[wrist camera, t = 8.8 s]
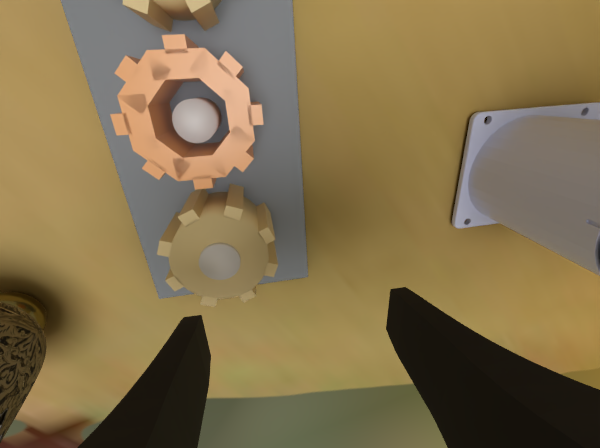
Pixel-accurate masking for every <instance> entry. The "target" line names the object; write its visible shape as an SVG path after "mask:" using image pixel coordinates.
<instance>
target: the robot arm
mask: <svg viewBox="0 0 600 448" xmlns="http://www.w3.org/2000/svg"><path fill="white" fill-rule="evenodd" d="M581 112H582V113H581ZM486 117H487V121H486V122H485V123H484V120H485V118H486ZM466 219H467V221H466V222H464V221H465V220H466ZM496 223H500V224H502V225H504V226H506V227H508V228H510V229H512V230H514V231H515V232H517V233H519V234H521V235H523V236H525V237H527V238H529V239H531V240H533V241H534V242H536V243H538V244H540V245H542V246H544V247H546V248H548V249H550V250H552V251H553V252H555V253H557V254H559V255H561V256H563V257H565V258H567V259H569V260H571V261H572V262H574V263H576V264H578V265H580V266H582V267H584V268H586V269H588V270H590V271H591V272H593V273H595V274H597V275H599V276H600V102H593V103H580V104H568V105H556V106H544V107H532V108H520V109H508V110H496V111H483V112H476V113H475V114H473V115H472V117H471V118H470V121H469V127H468V133H467V138H466V144H465V150H464V155H463V161H462V167H461V172H460V178H459V184H458V189H457V195H456V201H455V206H454V212H453V218H452V225H453V226H454V227H456V228H466V227H474V226H481V225H489V224H496ZM386 330H387V332H388V335H389V337H390V339H391V342H392V344H393V346H394V349H395V351H396V353H397V355H398V357H399V359H400V360H401V362H402V364H403V366H404V367H405V369H406V371H407V373H408V374H409V376H410V378H411V379H412V381H413V383H414V385H415V386H416V388H417V390H418V391H419V393H420V395H421V397H422V398H423V400H424V402H425V404H426V405H427V407H428V409H429V410H430V412H431V414H432V416H433V418H434V420H435V422H436V423H437V426H438V428H439V430H440V432H441V434H442V436H443V438H444V441H445V442H446V445H447V447H448V448H600V390H599V389H596V388H593V387H591V386H588V385H585V384H583V383H580V382H578V381H575V380H573V379H570V378H568V377H565V376H563V375H561V374H558V373H556V372H554V371H552V370H549V369H547V368H545V367H542V366H540V365H538V364H536V363H534V362H531V361H529V360H527V359H525V358H523V357H521V356H519V355H517V354H515V353H513V352H511V351H509V350H507V349H505V348H503V347H501V346H499V345H497V344H496V343H494V342H492V341H490V340H488V339H487V338H485V337H483V336H481V335H480V334H478V333H476V332H474V331H473V330H471V329H469V328H468V327H466V326H464V325H463V324H461V323H460V322H458V321H456V320H455V319H453V318H452V317H450V316H449V315H447V314H445V313H444V312H442V311H441V310H439V309H438V308H436V307H435V306H433V305H432V304H430V303H429V302H427V301H426V300H424V299H423V298H421V297H420V296H418V295H417V294H415V293H414V292H412V291H411V290H409V289H408V288H406V287H403V288H396V289H391V291H390V299H389V308H388V317H387V326H386ZM210 362H211V354H210V350H209V346H208V341H207V337H206V333H205V329H204V324H203V320H202V316H201V315H198V316H190V317H184V318H183V319H182V320H181V321H180V323H179V324H178V326H177V327H176V329H175V330H174V332H173V333H172V335H171V336H170V338H169V339H168V340H167V342H166V343H165V345H164V346H163V348H162V349H161V350H160V352H159V353H158V354H157V356H156V357H155V359H154V360H153V361H152V363H151V364H150V365H149V367H148V368H147V369H146V371H145V372H144V373H143V375H142V376H141V377H140V378H139V379H138V381H137V382H136V383H135V384H134V386H133V387H132V388H131V389H130V391H129V392H128V393H127V394H126V396H125V397H124V398H123V399H122V400H121V401H120V403H119V404H118V405H117V406H116V407H115V408H114V409H113V411H112V412H111V413H110V414H109V415H108V416H107V417H106V418H105V419H104V421H103V422H102V423H101V424H100V425H99V426H98V427H97V428H96V429H95V430H94V432H92V433H91V434H90V436H89V437H87V438H86V439H85V440H84V442H83V443H82V444H81V445H80V446H79V447H78V448H197V446H198V441H199V435H200V430H201V425H202V419H203V414H204V409H205V403H206V398H207V392H208V387H209V376H210Z"/></svg>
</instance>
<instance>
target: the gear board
mask: <svg viewBox="0 0 600 448" xmlns="http://www.w3.org/2000/svg"><path fill="white" fill-rule="evenodd" d="M61 3H62V6H63V9H64V12H65V15H66V18H67V21H68V24H69V27H70V30H71V33H72V36H73V39H74V42H75V45H76V48H77V51H78V54H79V57H80V60H81V63H82V66H83V69H84V72H85V75H86V78H87V81H88V85H89V88H90V91H91V94H92V97H93V100H94V103H95V106H96V109H97V112H98V115H99V118H100V121H101V124H102V127H103V130H104V133H105V136H106V139H107V142H108V145H109V148H110V151H111V154H112V157H113V160H114V163H115V166H116V169H117V172H118V175H119V178H120V181H121V184H122V187H123V190H124V193H125V196H126V199H127V202H128V205H129V208H130V211H131V214H132V218H133V221H134V224H135V227H136V230H137V233H138V236H139V239H140V242H141V245H142V248H143V251H144V254H145V257H146V260H147V263H148V266H149V269H150V272H151V275H152V278H153V281H154V284H155V287H156V290H157V293H158V296H159V299H161V298H168V297H175V296H182V295H188V294H196V295H199V296H202V299H201V304H200V305H206V306H213V307H215V306H216V303H217V299H228V298H233V297H237V296H239V297H240V299H241V300H242V301H243V303H244V302H246V301H248V300H250V299H252V298H254V297H256V285H257V284H264V283H271V282H277V281H284V280H291V279H298V278H305V277H308V265H307V248H306V231H305V213H304V196H303V179H302V161H301V144H300V126H299V109H298V92H297V74H296V57H295V40H294V22H293V5H292V0H61ZM177 34H185V35H186V36H187V37H188V38H189V39H190V40H192V41H193V42H194V43H195V44H196V45H197V46H198V47H199V48H206V49H207V50H208V51H209V52H210V53H211V54H212V55H213V56H214V57H215V58H216V59H217V60H218V61H219V60H220V58H221V57H222V56H223V54H224V53H225V51H227V52H228V53H229V54H230V55H231V56H232V57H233V58H234V59H235V60H236V61H237V62H238V63H239V64H240V65H241V66H242V67H243V70H244V73H243V74H242V75H241V77H240V78H239V80H240V81H241V82H242V83H244V84H245V85H246V86H247V87H248V88H249V95H250V102H260V103H261V104H262V114H263V124H264V125H253V130H254V137H255V141H254V142H253V144H252V145H253V155H254V159H253V160H252V162H251V163H250V164H249V165H248V167H247V168H246V169H245V170H244V171H243V172H242V171H240V170H239V169H238V168H236V167H235V166H234V167H233V169H232V170H231V171H230V172H229V174H228V175H227V176H226V177H219V178H217V179H216V181H215V184H214V187H213V188H207V189H197V190H195V187H194V183H193V180H187V181H177V180H175V179H174V178H172V177H171V176H169V175H168V174H167V173H166V174H165V175H164V176H163V177H162V178H161V179H160V180H158V179H157V178H155V177H154V176H152V175H151V174H149V173H148V172H146V171H145V170H143V169H142V167H143V166H144V165H145V163H146V162H147V160H146V159H145V158H143V157H142V156H140V155H139V154H137V153H136V152H134V151H133V148H132V145H131V142H130V138H129V135H116V132H115V129H114V125H113V122H112V119H111V116H110V114H115V113H121V112H122V111H121V107H120V104H119V100H118V97H117V95H118V94H119V92H120V91H121V89H122V88H123V86H124V85H125V83H126V82H125V81H124V80H123V79H121V78H120V77H119V76H117V75H116V74H115V71H116V70H117V68H118V67H119V65H120V63H121V62H122V60H123V59H124V57H125V56H126V55H127V56H131V57H134V58H138V59H141V58H142V57H143V55H144V54H145V52H146V51H147V50H160V49H165V48H164V43H163V38H162V35H177ZM170 107H171V111H172V122H173V126H174V128H175V130H176V132H177V133H178V134H179V135H180V136H181V137H182V138H183V139H185V140H186V141H189V142H192V143H195V144H202V143H215V142H220V141H221V140H222V138H223V137H224V136H225V134H226V133H227V132H228V131H229V123H228V117H227V110H226V103H225V100H224V99H222V98H221V97H220V96H219V95H218V94H217V93H215V92H214V91H213V90H212V89H211V88H210V87H208V86H207V85H206V84H205V83H204V82H203V81H195V82H183V84H182V85H181V87H180V88H179V90H178V91H177V92H176V94H175V95H174V97H173V98H172V100H171V101H170Z"/></svg>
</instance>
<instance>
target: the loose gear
mask: <svg viewBox="0 0 600 448" xmlns="http://www.w3.org/2000/svg"><path fill="white" fill-rule="evenodd" d="M162 38H163V43H164V48H165V49H160V50H147V51H146V52H145V54H144V55H143V57H142V58H141V59H138V58H134V57H131V56H127V55H126V56H125V57H124V59H123V60H122V62H121V63H120V65H119V67H118V68H117V70H116V71H115V74H116V75H117V76H119V77H120V78H121V79H123V80H124V81H125V82H126V83H125V85H124V86H123V88H122V89H121V91H120V92H119V94H118V95H117V97H118V100H119V104H120V107H121V111H122V112H121V113H115V114H110V116H111V119H112V122H113V125H114V129H115V132H116V135H129V138H130V142H131V145H132V148H133V151H134V152H136V153H137V154H139V155H140V156H142V157H143V158H145V159H146V160H147V162H146V163H145V165H144V166H143V167H142V169H143V170H145V171H146V172H148V173H149V174H151V175H152V176H154V177H155V178H157V179H158V180H160V179H161V178H162V177H163V176H164V175H165V174H166V173H167V174H168V175H169V176H171V177H172V178H174V179H175V180H177V181H187V180H193V183H194V187H195V190H197V189H207V188H213V187H214V184H215V181H216V179H217V178H219V177H226V176H227V175H228V174H229V172H230V171H231V170H232V169H233V167H234V166H235V167H236V168H238V169H239V170H240V171H242V172H243V171H244V170H245V169H246V168H247V167H248V165H249V164H250V163H251V162H252V160H253V159H254V155H253V145H252V144H253V142H254V141H255V137H254V130H253V125H264V124H263V114H262V104H261V103H260V102H250V95H249V88H248V87H247V86H246V85H245V84H244V83H242V82H241V81H240V80H239V78H240V77H241V75H242V74H243V73H244V70H243V67H242V66H241V65H240V64H239V63H238V62H237V61H236V60H235V59H234V58H233V57H232V56H231V55H230V54H229V53H228V52H227V51H225V53H224V54H223V56H222V57H221V58H220V60H219V61H218V60H217V59H216V58H215V57H214V56H213V55H212V54H211V53H210V52H209V51H208V50H207V49H206V48H199V47H198V46H197V45H196V44H195V43H194V42H193V41H192V40H190V39H189V38H188V37H187V36H186V35H185V34H177V35H162ZM195 81H203V82H204V83H205V84H206V85H207V86H208V87H210V88H211V89H212V90H213V91H214V92H215V93H217V94H218V95H219V96H220V97H221V98H222V99H224V100H225V103H226V110H227V117H228V123H229V131H228V132H227V133H226V134H225V136H224V137H223V138H222V140H221V141H220V142H215V143H202V144H195V143H192V142H189V141H186V140H185V139H183V138H182V137H181V136H180V135H179V134H178V133H177V132H176V130H175V128H174V126H173V122H172V111H171V107H170V101H171V100H172V98H173V97H174V95H175V94H176V92H177V91H178V90H179V88H180V87H181V85H182V84H183V82H195Z"/></svg>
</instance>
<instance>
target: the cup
mask: <svg viewBox="0 0 600 448" xmlns="http://www.w3.org/2000/svg"><path fill="white" fill-rule="evenodd" d="M46 320H47V313H46V310H45V308H44V306H43V305H42V304H41V303H40V302H39V301H38V300H37V299H35V298H33V297H32V296H29V295H27V294H24V293H20V292H2V293H0V443H1V441H2V439H3V437H4V436H5V434H6V432H7V430H8V429H9V427H10V425H11V424H12V422H13V420H14V418H15V417H16V415H17V413H18V412H19V410H20V408H21V406H22V404H23V403H24V401H25V399H26V397H27V396H28V394H29V392H30V390H31V388H32V386H33V384H34V383H35V381H36V379H37V377H38V374H39V372H40V370H41V368H42V365H43V362H44V359H45V354H46V339H45V335H44V332H43V329H44V327H45V325H46Z"/></svg>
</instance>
